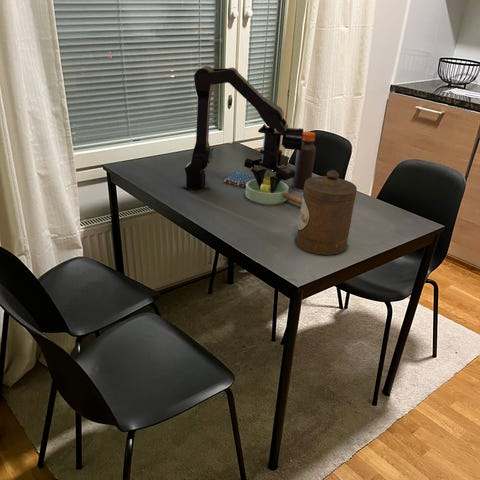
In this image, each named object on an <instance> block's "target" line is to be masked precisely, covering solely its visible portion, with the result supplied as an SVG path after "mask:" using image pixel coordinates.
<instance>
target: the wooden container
mask: <svg viewBox="0 0 480 480" xmlns="http://www.w3.org/2000/svg"><path fill="white" fill-rule="evenodd" d="M357 189H358V188H357V185H356V184H354V183H353V182H351V181H349V180H347V179H343V178H340V174H339V172H337V170H335V169H331V170H329V171H327V172H326V176H323V175H321V176H320V175H319V176H312V178H309V179H307V180H306V181H305V184H304V190H302V191H303V192H302V193H303V194H302V205H301V204H300V206H301V207H300V212H299V218H298V226H297V234H296V244H297V245H298V247H300V248H301V249H302V250H304V251H306V252H308V253H312V254H316V255H320V256H321V255H322V256H330V255H337V254H340V253H343V252H344V251H345V250H346V248H347V244H348V239H349V234H350V230H351V224H352V218H353V211H354V205H355V202H356V201H355V200H356V196H357Z"/></svg>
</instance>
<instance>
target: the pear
mask: <svg viewBox="0 0 480 480" xmlns="http://www.w3.org/2000/svg"><path fill="white" fill-rule="evenodd" d="M270 177H271V176H270V173H269V172H268V173H267V175H266V176H264V179H263V183H262V184H261V186H260V191H261V192H264V193H271V186H270Z"/></svg>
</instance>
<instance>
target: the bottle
mask: <svg viewBox="0 0 480 480" xmlns="http://www.w3.org/2000/svg"><path fill="white" fill-rule="evenodd" d="M315 141H316V133H315V132H313V131H303V144H302V150H301V151H299V150H296V153H295V163H294V168H293V169H294V170H295V177H294V178H292V184H291V185H292V188H293V189H296V190H299V191H300V190H301V191H304V184H305V181H306V180H307V179H309V178H312V177H313V172H314V166H315V165H314V164H315V158H316V151H317V147H316V146H315V145H314V143H315Z"/></svg>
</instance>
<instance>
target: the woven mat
mask: <svg viewBox="0 0 480 480" xmlns="http://www.w3.org/2000/svg"><path fill="white" fill-rule="evenodd" d="M254 179H256V178H255V176H254V175H252V174H247V173H242V172H240V171H237V172H236V171H233V172H232V173H230V174H229V175H226V176H225V177H223V182H224V183H228V184H232V185H234V186H240V187H243V188H244V187H246V184H247V182H249V181H250V180H254Z"/></svg>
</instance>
